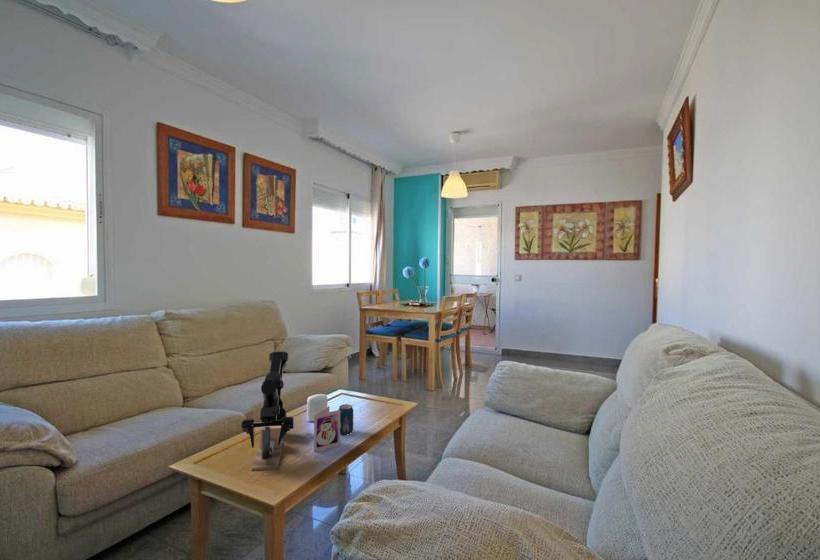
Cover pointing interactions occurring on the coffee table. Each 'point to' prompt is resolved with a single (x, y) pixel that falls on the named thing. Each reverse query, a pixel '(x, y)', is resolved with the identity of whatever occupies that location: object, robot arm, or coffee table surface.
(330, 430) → the greeting card
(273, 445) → the grey rectangular block
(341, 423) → the soda can
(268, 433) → the black handled metal tool
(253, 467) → the base board
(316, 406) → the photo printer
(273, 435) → the socket
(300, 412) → the coffee table surface
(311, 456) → the coffee table surface
